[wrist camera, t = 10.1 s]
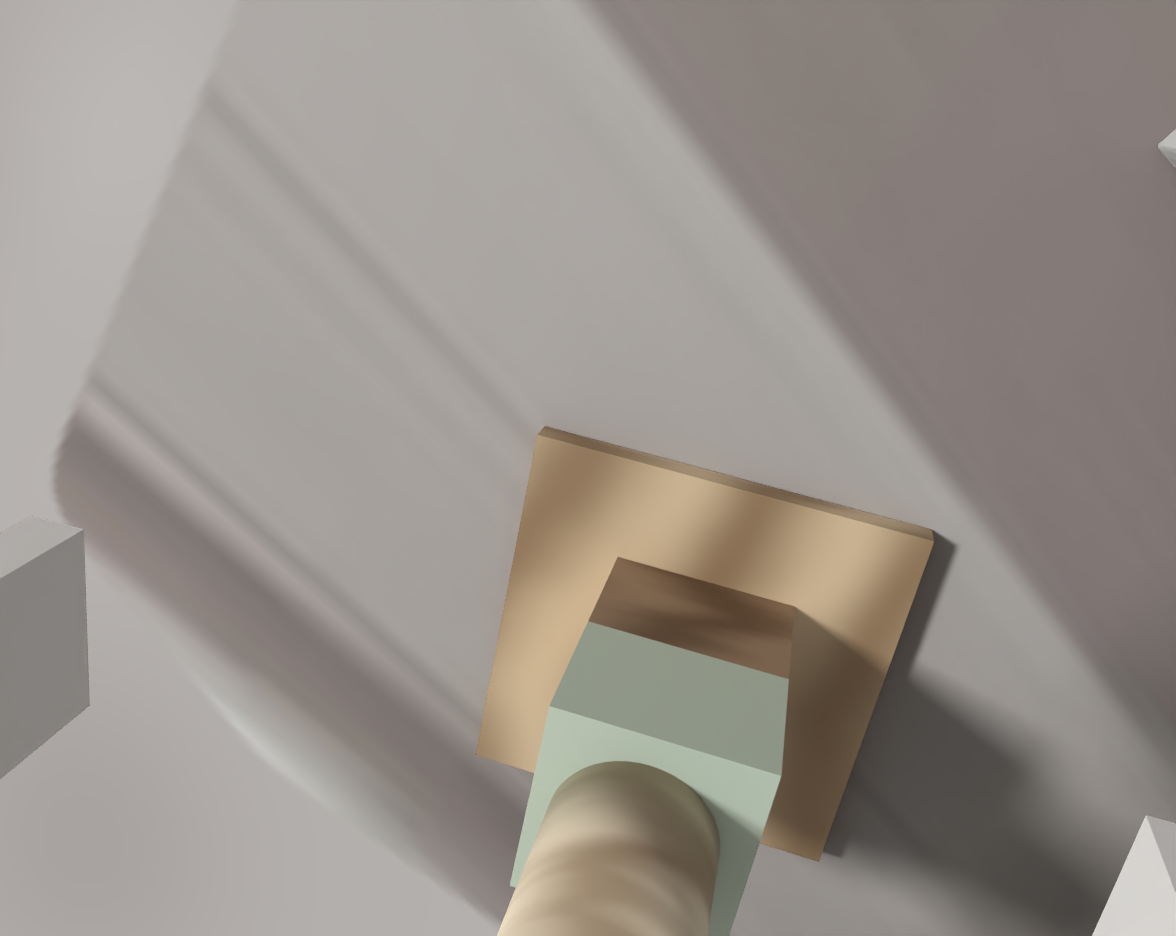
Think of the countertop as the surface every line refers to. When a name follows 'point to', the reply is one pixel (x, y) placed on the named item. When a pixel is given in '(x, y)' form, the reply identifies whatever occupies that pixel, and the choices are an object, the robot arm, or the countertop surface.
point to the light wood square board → (720, 556)
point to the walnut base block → (697, 616)
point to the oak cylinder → (619, 858)
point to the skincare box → (1169, 147)
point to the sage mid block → (669, 739)
